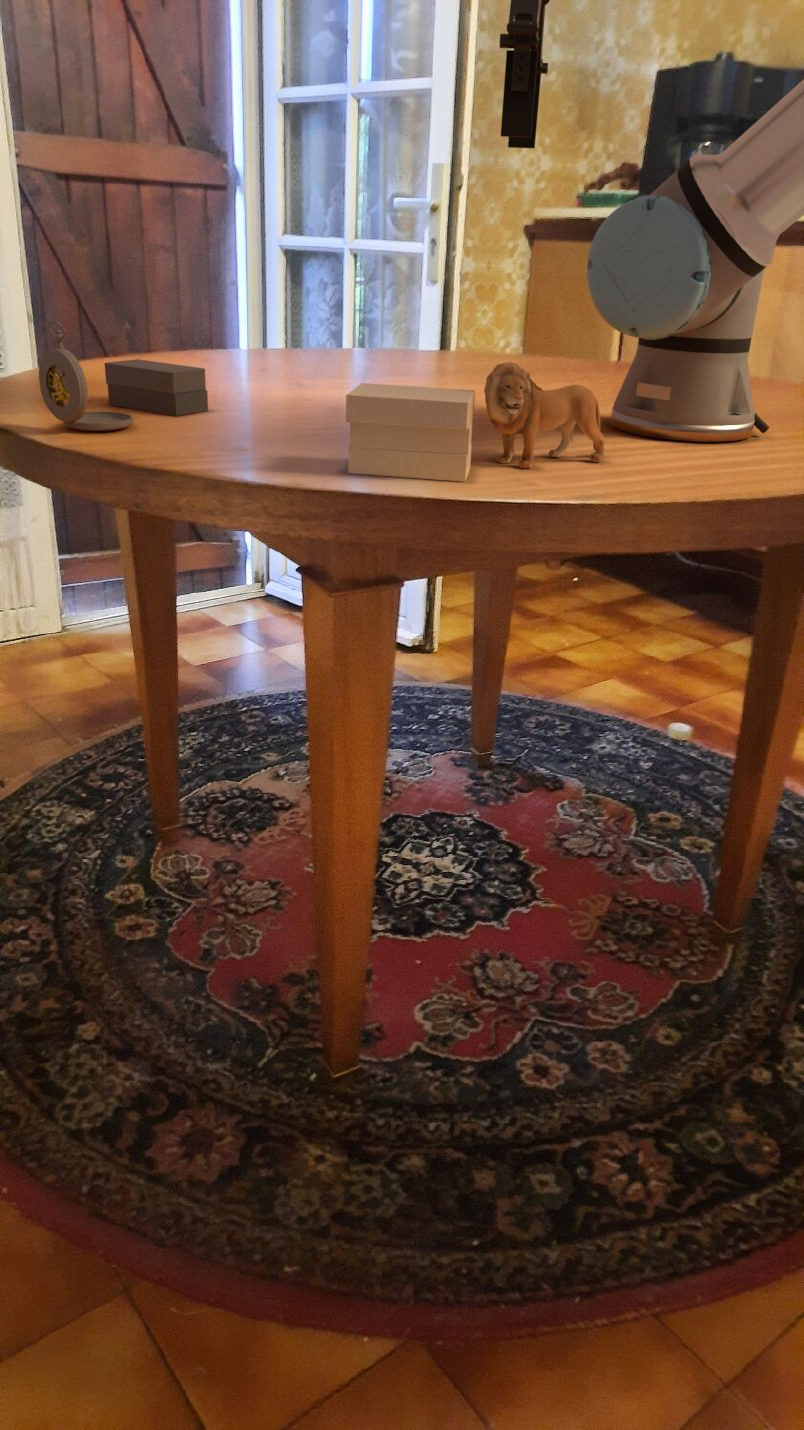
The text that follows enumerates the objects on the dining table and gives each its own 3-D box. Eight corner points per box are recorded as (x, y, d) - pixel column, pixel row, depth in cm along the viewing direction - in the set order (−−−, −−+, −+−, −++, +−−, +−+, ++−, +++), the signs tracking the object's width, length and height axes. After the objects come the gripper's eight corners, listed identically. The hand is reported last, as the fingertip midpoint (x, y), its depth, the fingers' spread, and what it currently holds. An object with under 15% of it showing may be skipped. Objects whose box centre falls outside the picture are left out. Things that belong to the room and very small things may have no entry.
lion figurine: (504, 476, 88) (513, 367, 84) (464, 464, 92) (471, 359, 88) (619, 460, 96) (632, 360, 92) (578, 450, 100) (589, 353, 96)
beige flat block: (473, 416, 89) (475, 390, 88) (466, 430, 83) (468, 402, 82) (360, 409, 90) (361, 383, 89) (345, 422, 84) (346, 394, 83)
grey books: (208, 410, 111) (206, 368, 109) (176, 416, 107) (173, 372, 106) (140, 399, 116) (137, 359, 114) (107, 404, 112) (104, 362, 110)
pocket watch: (142, 423, 103) (135, 317, 99) (113, 439, 95) (104, 325, 91) (63, 419, 103) (53, 313, 99) (28, 434, 96) (15, 320, 92)
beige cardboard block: (471, 469, 90) (474, 418, 88) (466, 482, 85) (469, 428, 83) (358, 460, 91) (359, 410, 89) (346, 473, 86) (347, 420, 84)
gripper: (505, -96, 100) (488, 150, 109) (488, -189, 78) (469, 129, 87) (581, -95, 99) (558, 153, 108) (587, -189, 77) (557, 132, 86)
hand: (518, 143), depth 98 cm, fingers open, 13 cm apart
